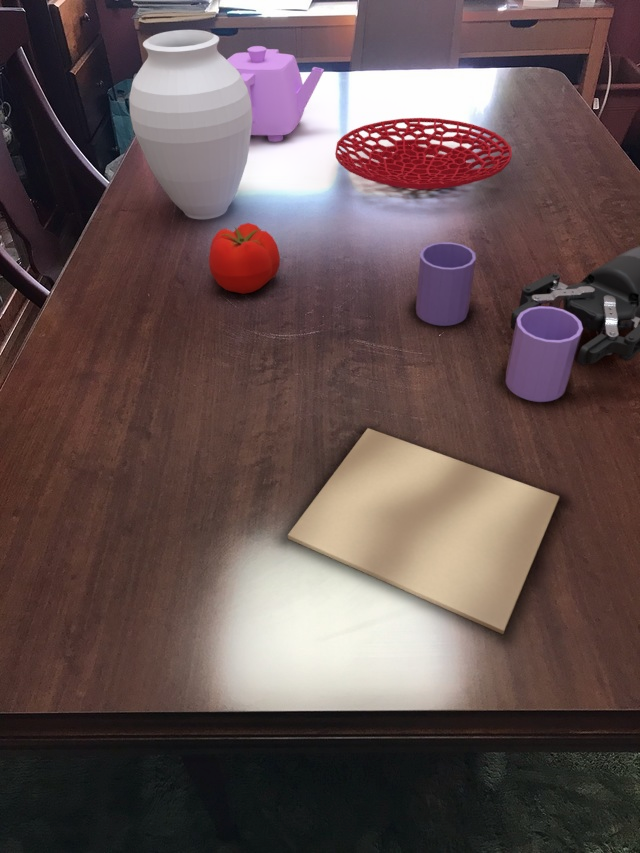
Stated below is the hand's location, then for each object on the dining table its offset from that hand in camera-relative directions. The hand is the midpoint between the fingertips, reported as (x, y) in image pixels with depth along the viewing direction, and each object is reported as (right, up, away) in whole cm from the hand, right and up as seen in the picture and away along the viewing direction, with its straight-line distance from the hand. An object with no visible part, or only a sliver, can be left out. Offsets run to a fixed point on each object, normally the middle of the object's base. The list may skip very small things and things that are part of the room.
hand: (546, 339), depth 73 cm
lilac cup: (-9, +6, +15) cm, 18 cm away
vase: (-43, +26, +39) cm, 63 cm away
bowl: (-7, +34, +46) cm, 58 cm away
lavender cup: (0, -4, +4) cm, 6 cm away
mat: (-14, -18, -10) cm, 25 cm away
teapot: (-35, +50, +64) cm, 89 cm away
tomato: (-34, +10, +22) cm, 42 cm away
